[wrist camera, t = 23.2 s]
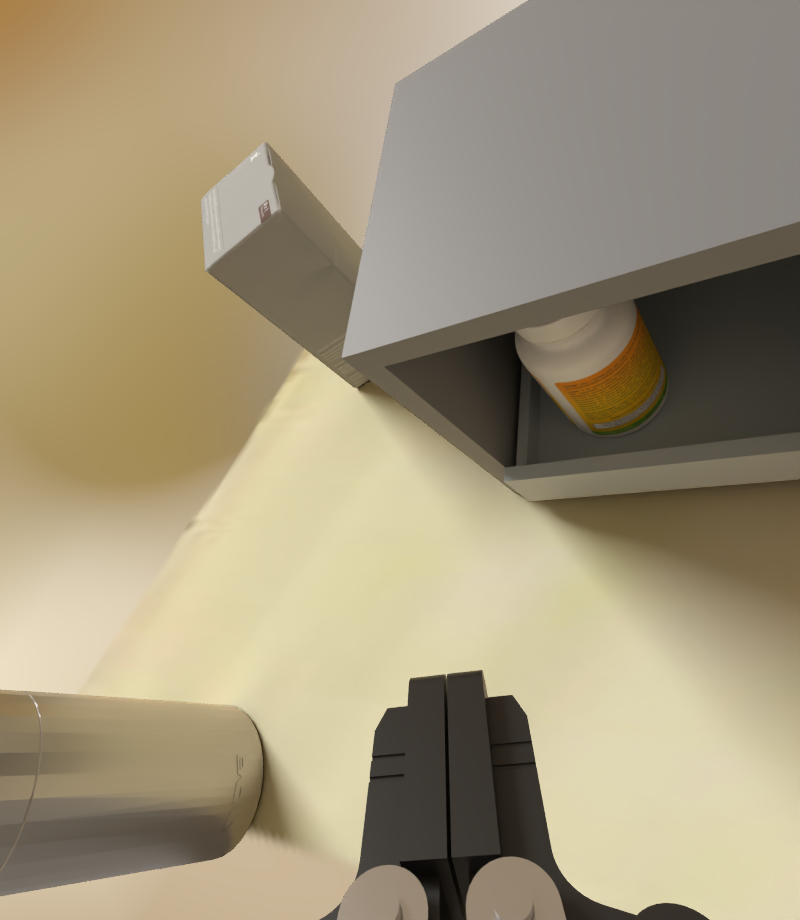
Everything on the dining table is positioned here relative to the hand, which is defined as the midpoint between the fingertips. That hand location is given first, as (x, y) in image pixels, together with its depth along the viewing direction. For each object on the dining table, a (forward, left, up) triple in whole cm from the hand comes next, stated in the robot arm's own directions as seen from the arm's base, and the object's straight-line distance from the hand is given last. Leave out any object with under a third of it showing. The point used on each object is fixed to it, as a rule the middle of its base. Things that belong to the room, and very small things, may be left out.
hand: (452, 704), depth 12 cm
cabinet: (+1, +20, -18) cm, 27 cm away
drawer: (+1, +18, -17) cm, 25 cm away
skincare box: (-21, +27, -19) cm, 39 cm away
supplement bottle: (-1, +16, -16) cm, 23 cm away
